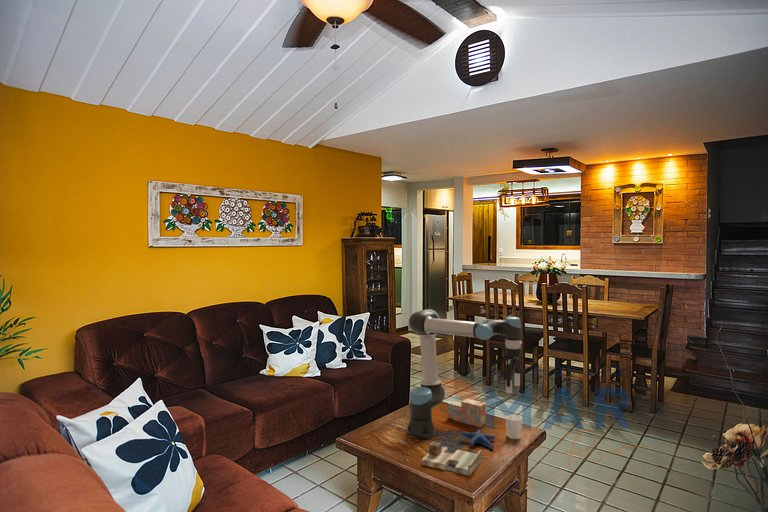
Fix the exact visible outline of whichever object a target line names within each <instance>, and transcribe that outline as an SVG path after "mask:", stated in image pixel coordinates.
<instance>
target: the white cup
mask: <svg viewBox="0 0 768 512" xmlns="http://www.w3.org/2000/svg"><path fill="white" fill-rule="evenodd" d="M505 427H506V437H507V436H508V437H509V439H512V440H519V439H520V438H521V434H522V433H521V432H522V417H521V416H519V415H515V414H508V415H506V416H505ZM508 437H507V438H508Z"/></svg>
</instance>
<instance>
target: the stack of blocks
mask: <svg viewBox="0 0 768 512" xmlns="http://www.w3.org/2000/svg"><path fill="white" fill-rule="evenodd" d="M486 406H487V404H486V402H482V401H478V400H475V399H469V398H465V399H464V400H462V401H456V400H451V401H449V402H448V403H447V419H448V418H449V419H448V420H451V419H452V421H454V420H455V422H459V423H461V424H466V425H470V426H472V425H473V427H476V426H477V427H476V428H480V427H481V426H482V427H484V426H485V425H484V424H486V425H487V421H486V416H487V415H486V414H487V413H486V412H487V407H486ZM483 425H484V426H483ZM482 427H481V428H482Z"/></svg>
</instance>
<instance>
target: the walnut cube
mask: <svg viewBox="0 0 768 512" xmlns="http://www.w3.org/2000/svg"><path fill="white" fill-rule="evenodd" d="M441 446H442V442H439V441H433V440H432V441H431V442H430V443H429V444H428V453H429V454H430V455H435V456H438V455H439V454H440V453H441Z"/></svg>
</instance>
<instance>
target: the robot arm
mask: <svg viewBox="0 0 768 512" xmlns="http://www.w3.org/2000/svg"><path fill="white" fill-rule="evenodd" d="M408 327H409V328H410V330H411V331H412V332H413V333H416V336H418V337H419V342H420V343H419V344H420V356H421V357H420V358H421V368H422V369H421V372H422V380H421V382H420V386H418V387H414V388H412V389H411V390H410V393H409V420H408V421H409V422H408V424H407V428H406V434H407V433H408V434H409V435H410V436H413V437H416V438H415V439H417V438H427V439H429V438H428V437H431V438H433V437H435V435H436V427H435V425H434V422H433V415H432V413H433V410H434V408H435V407H437V406H439V405H441V403H442V402H444V399H445V398H446V389H445V388H444V386H443V385H442V381H441V379H439V371H438V361H437V360H438V359H437V345H436V336H437V335H438V334H441V335H442V334H443V335H453V336H459V337H460V336H462V337H467V338H468V337H470V338H477V339H479V340H482V341H486V340H489V339H490V338H492V337H494V336H496V335H497V336H498V335H499V336H505V355H506V357H508V359H506V365H505V371H504V378H503V379H504V380H505V392H506V394H513V385H514V386H515V387H521V374H522V366H521V360H520V356H521V355H522V353H521V351H522V349H521V347H522V345H521V344H523V342H522V339H521V338H522V322H521V318H520V317H518V316H507V317H505V320H502V319H500V320H499V319H492V318H490V319H489V318H485V319H483V320H482V322H477V321H467V320H456V319H447V318H446V319H445V318H440V316H439V314H438V313H437V312H436V311H435V310H433V309H432V308H431V309H428V308H427V309H423V310H419V311H416V312H415V311H414V313H412V314H411V315H410V316H409V318H408ZM513 373H514V374H513ZM513 376H514V377H513ZM512 377H513V378H514V379H513V380H514V383H513V380H512ZM408 434H407V435H408ZM409 435H408V436H409ZM410 436H409V437H410ZM432 436H433V437H432Z"/></svg>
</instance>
